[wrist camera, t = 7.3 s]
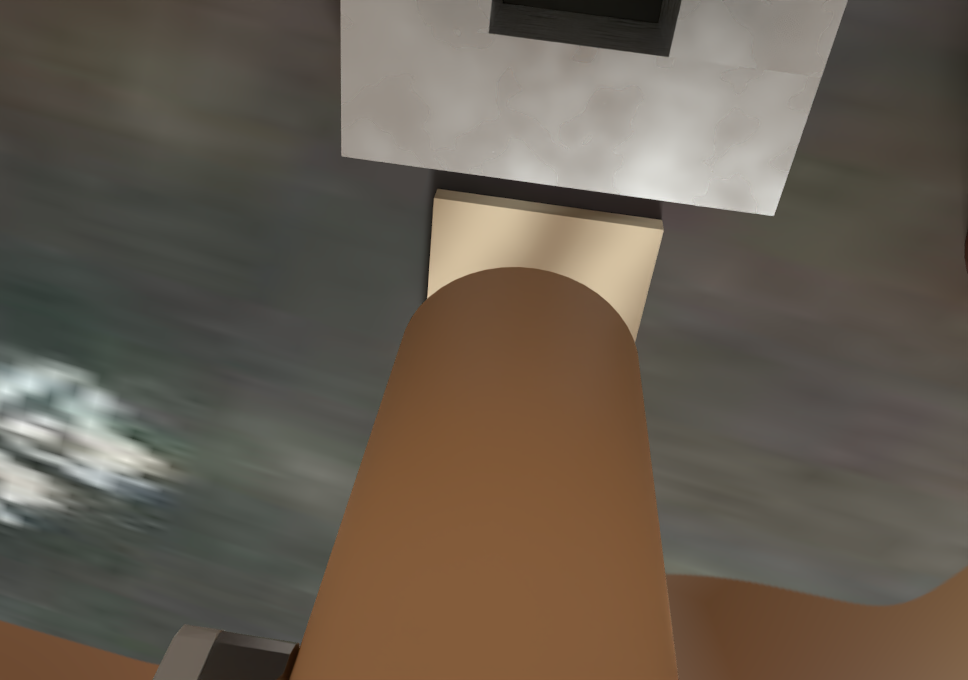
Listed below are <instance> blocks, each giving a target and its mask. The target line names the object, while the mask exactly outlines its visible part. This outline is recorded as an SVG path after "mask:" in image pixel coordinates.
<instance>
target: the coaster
mask: <svg viewBox="0 0 968 680" xmlns="http://www.w3.org/2000/svg"><path fill="white" fill-rule="evenodd" d="M663 231H664V229H663V223H662V220H658V219H651V218H644V217H637V216H629V215H622V214H615V213H608V212H601V211H594V210H586V209H579V208H572V207H565V206H558V205H551V204H543V203H536V202H529V201H522V200H515V199H508V198H500V197H493V196H486V195H479V194H472V193H465V192H457V191H450V190H443V189H437V192H436V194H435V197H434V206H433V221H432V236H431V250H430V265H429V280H428V295H427V299H428V298H429V297H430V296H431V295H432V294H434V293H435V292H436V291H438V290H439V289H440V288H441V287H443V286H445V285H447V284H449V283H450V282H452V281H454V280H456V279H458V278H461V277H463V276H466V275H468V274H471V273H475V272H479V271H482V270H487V269H494V268H501V267H525V268H536V269H541V270H546V271H550V272H554V273H557V274H560V275H563V276H566V277H569V278H571V279H573V280H575V281H577V282H579V283H582V284H584V285H585V286H587V287H588V288H590V289H591V290H593V291H595V292H596V293H598V294H599V295H600V296H601V297H602V298H604V299H605V300H606V301H607V302H608V303H609V304H610V305H611V306H612V307H613V308H614V309H615V310H616V311H617V312H618V313H619V315H620V316H621V318H622V319H623V320H624V322H625V323H626V325H627V326H628V328H629V331H630V333H631V335H632V337H633V339H634V342H635V340H636V336H637V332H638V328H639V324H640V320H641V317H642V313H643V309H644V305H645V301H646V297H647V293H648V289H649V285H650V282H651V278H652V274H653V270H654V266H655V262H656V258H657V254H658V250H659V246H660V243H661V239H662V235H663Z"/></svg>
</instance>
